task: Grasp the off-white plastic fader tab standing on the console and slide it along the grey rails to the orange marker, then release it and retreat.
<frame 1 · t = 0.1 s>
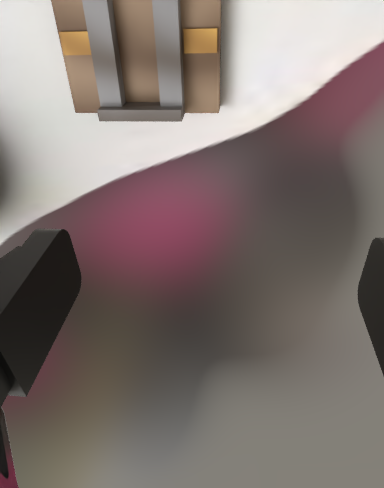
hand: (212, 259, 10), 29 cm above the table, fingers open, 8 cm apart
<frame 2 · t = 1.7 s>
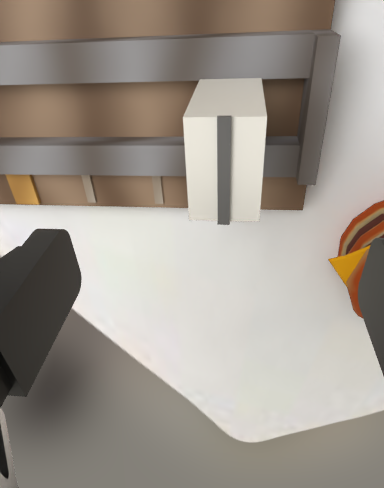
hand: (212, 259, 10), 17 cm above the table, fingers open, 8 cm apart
fader console: (111, 99, 24), on the table
fader tab: (228, 134, 18), point 7 cm above the table, slide at -8.0 cm
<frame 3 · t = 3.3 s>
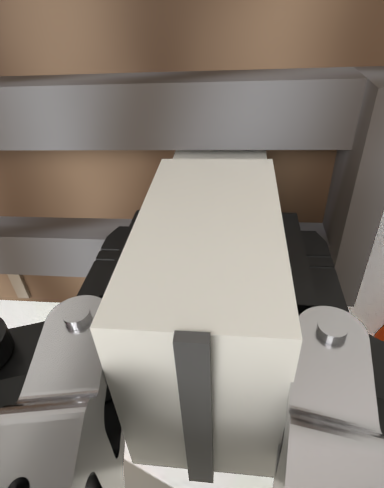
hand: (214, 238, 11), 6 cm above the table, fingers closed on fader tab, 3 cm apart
fader console: (41, 158, 16), on the table
fader tab: (213, 259, 10), point 7 cm above the table, slide at -8.0 cm, touching gripper
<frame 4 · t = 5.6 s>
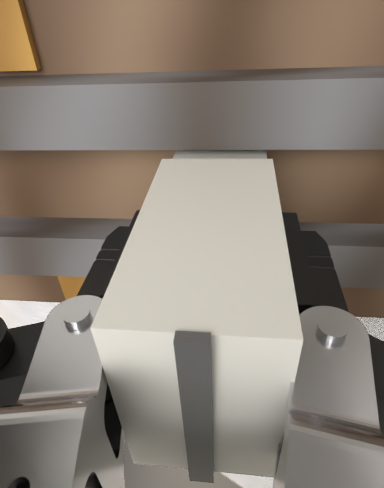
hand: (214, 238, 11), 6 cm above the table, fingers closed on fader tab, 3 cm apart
fader console: (227, 158, 15), on the table
fader tab: (213, 258, 10), point 7 cm above the table, slide at 0.2 cm, touching gripper
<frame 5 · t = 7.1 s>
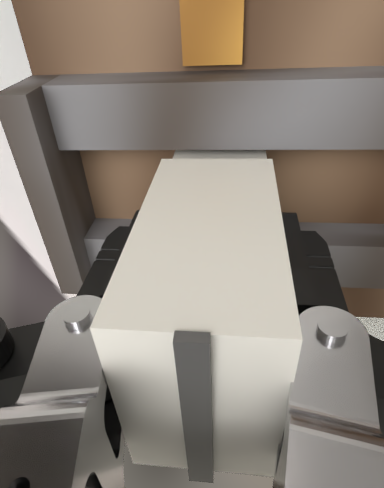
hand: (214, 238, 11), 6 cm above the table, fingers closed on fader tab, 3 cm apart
fader tab: (213, 258, 10), point 7 cm above the table, slide at 6.7 cm, touching gripper
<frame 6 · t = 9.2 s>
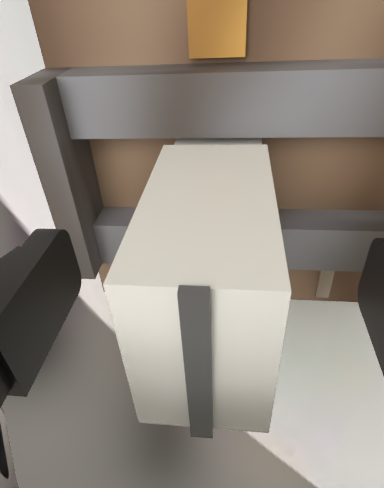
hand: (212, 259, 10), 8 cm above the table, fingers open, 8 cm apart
fader tab: (212, 238, 11), point 7 cm above the table, slide at 6.9 cm
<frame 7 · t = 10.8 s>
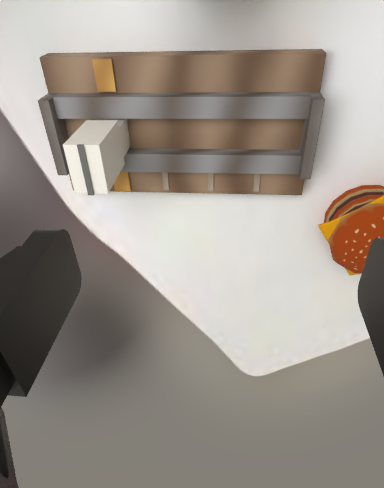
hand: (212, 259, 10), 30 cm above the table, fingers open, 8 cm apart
fader console: (183, 125, 39), on the table
hamburger: (362, 216, 44), on the table
fader tab: (101, 149, 34), point 7 cm above the table, slide at 6.9 cm
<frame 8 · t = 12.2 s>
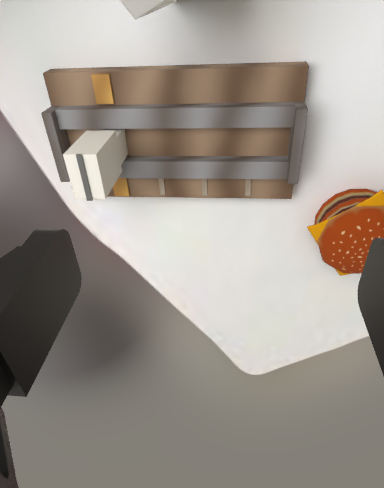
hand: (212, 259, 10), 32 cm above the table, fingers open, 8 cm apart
fader console: (178, 133, 41), on the table
hamburger: (351, 218, 45), on the table
fader tab: (100, 157, 36), point 7 cm above the table, slide at 6.9 cm
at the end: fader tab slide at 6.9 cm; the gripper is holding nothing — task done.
